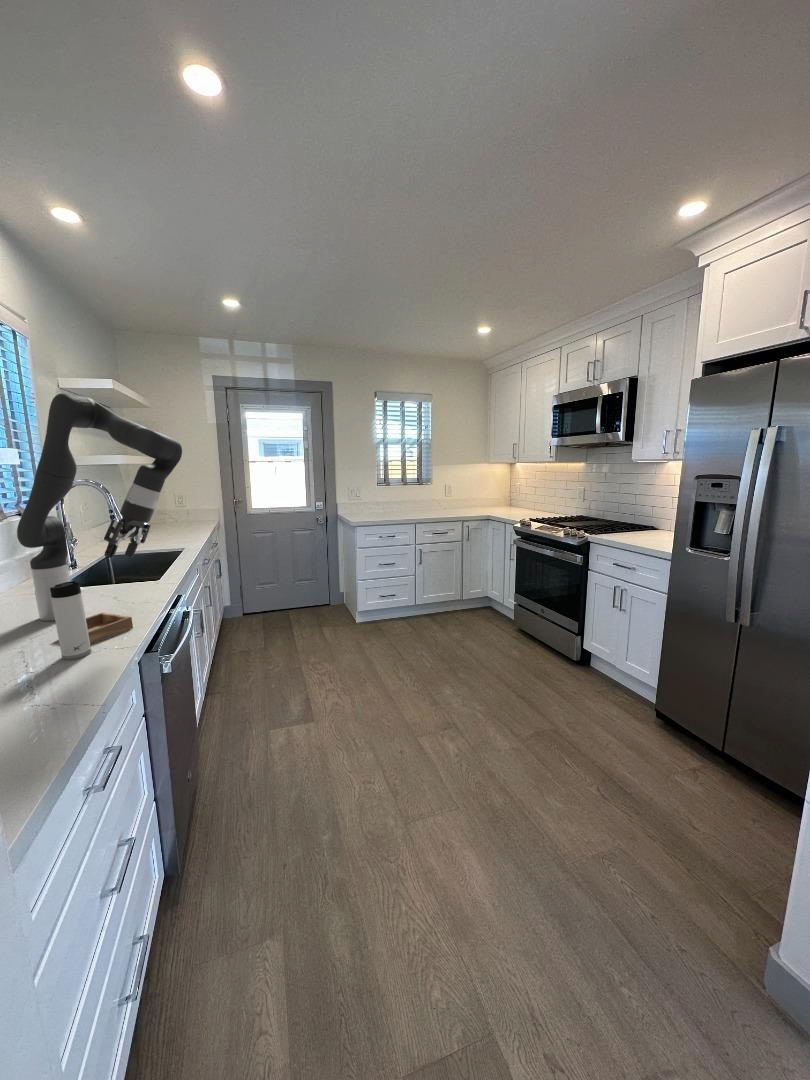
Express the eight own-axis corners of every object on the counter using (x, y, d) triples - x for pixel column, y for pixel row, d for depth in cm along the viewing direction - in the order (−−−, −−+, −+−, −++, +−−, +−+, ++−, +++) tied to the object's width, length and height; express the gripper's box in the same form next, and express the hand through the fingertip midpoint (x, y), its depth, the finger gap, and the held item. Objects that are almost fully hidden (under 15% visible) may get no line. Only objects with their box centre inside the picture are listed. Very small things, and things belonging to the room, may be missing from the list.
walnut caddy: (59, 639, 128) (57, 627, 127) (104, 623, 140) (102, 612, 139) (89, 644, 123) (87, 632, 123) (133, 627, 135) (131, 617, 135)
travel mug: (84, 659, 114) (71, 584, 111) (56, 661, 114) (42, 586, 110) (97, 648, 121) (85, 577, 117) (71, 650, 120) (58, 579, 116)
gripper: (143, 500, 131) (123, 551, 131) (111, 494, 117) (87, 552, 116) (167, 509, 131) (146, 560, 131) (137, 505, 116) (114, 562, 116)
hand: (118, 556), depth 124 cm, fingers open, 8 cm apart
